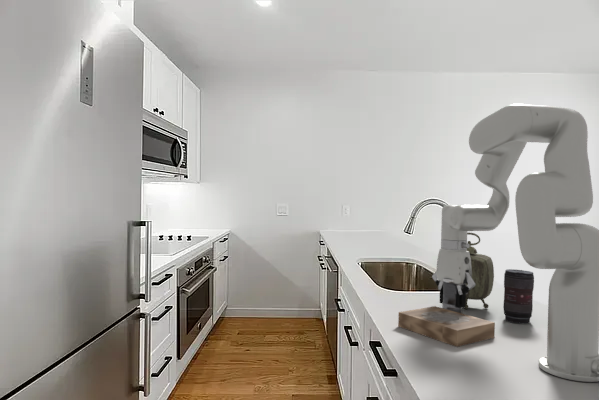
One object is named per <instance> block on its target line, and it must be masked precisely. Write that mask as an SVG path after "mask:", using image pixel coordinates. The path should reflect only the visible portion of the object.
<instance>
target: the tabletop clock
mask: <svg viewBox="0 0 599 400" xmlns="http://www.w3.org/2000/svg"><path fill="white" fill-rule="evenodd" d="M468 235H471V236H474V237H476V238H477V239H478V241H477V242H474V243H472V242H471V240H467V244H469V245H470V247H469V248H467V251H469V253H470V258H471V267H472V279H473V281H474V282H475V286H474V287H473V288H471V290H470V291H469V292H468V293H467V294H466V304H465V307H463V309H465V310H468V309H469V304H468V300H473V301H474V300H475V301H477V300H478V301H479V300H480V301H481V302H482V303H483V304H482V305H483V306H482V307H483V308H484V309H488V308H489V304H488V303H486V302H485V299H487V298H488V297H489V296H490V295H491V293H492V291H493V287H494V279H495V278H494V277H495V271H494V268H495V267H494V262H493V260H492V257H490V256H489V255H486V254H481V253H478V251H477V249H476V247H474V246H476V245H478V244H480V243H481V238H480V236H479V234H476V233H474V232H467V236H468ZM467 285H468V284H466V286H467ZM462 289H463V288H462Z"/></svg>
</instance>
